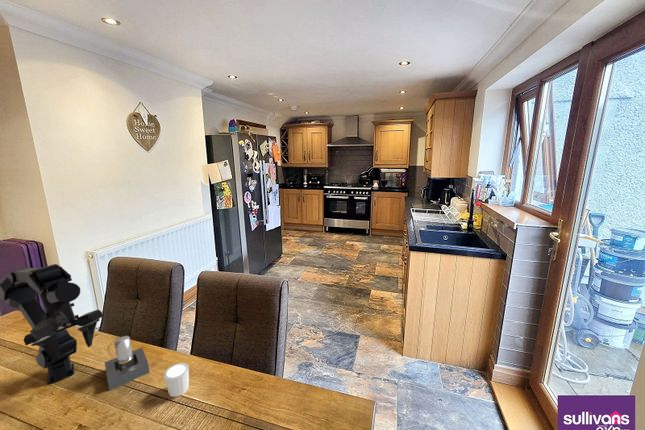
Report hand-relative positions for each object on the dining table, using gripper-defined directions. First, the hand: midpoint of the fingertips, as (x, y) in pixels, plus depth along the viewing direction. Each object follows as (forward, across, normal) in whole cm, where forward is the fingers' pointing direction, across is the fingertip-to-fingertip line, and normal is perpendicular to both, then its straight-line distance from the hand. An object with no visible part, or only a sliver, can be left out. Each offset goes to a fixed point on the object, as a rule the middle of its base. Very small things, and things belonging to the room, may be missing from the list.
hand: (74, 352), depth 84 cm
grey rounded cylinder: (+14, +7, +8) cm, 18 cm away
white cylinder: (+22, +26, -3) cm, 34 cm away
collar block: (+14, +7, +8) cm, 18 cm away
